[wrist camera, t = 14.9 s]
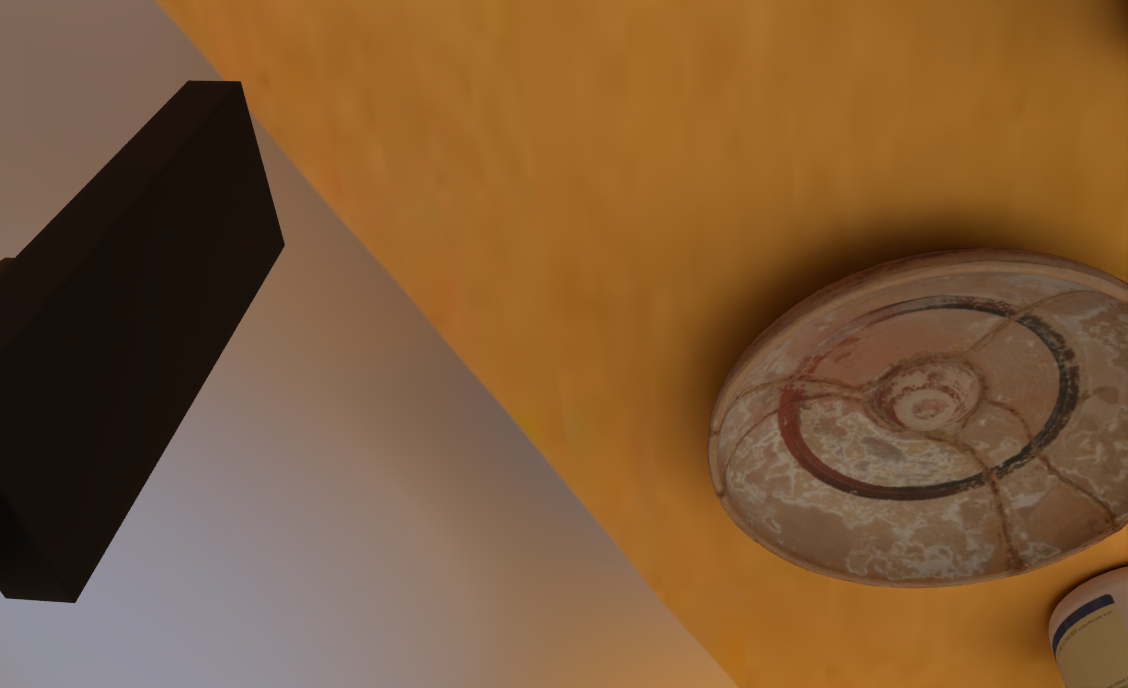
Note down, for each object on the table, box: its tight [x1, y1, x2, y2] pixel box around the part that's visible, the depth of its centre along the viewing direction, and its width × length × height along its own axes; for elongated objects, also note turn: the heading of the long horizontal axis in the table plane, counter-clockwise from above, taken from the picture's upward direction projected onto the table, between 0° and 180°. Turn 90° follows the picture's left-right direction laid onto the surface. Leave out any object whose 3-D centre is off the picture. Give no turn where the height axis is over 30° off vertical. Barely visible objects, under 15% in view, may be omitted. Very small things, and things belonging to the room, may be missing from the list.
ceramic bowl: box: [707, 248, 1128, 588], centre depth 46 cm, size 23×24×5 cm
